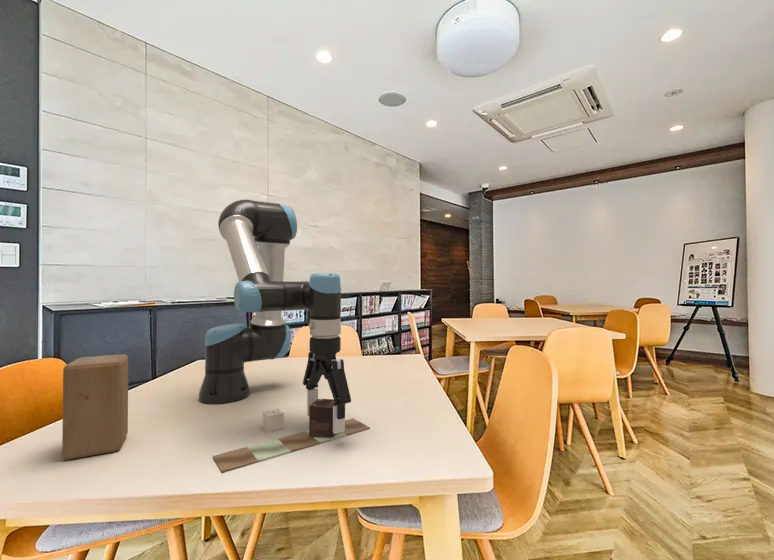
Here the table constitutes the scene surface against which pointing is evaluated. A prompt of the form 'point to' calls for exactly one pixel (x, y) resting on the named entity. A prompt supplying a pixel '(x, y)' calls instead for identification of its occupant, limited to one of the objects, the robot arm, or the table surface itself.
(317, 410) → the box
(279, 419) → the die
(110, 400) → the wooden block
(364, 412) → the table surface
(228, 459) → the track
